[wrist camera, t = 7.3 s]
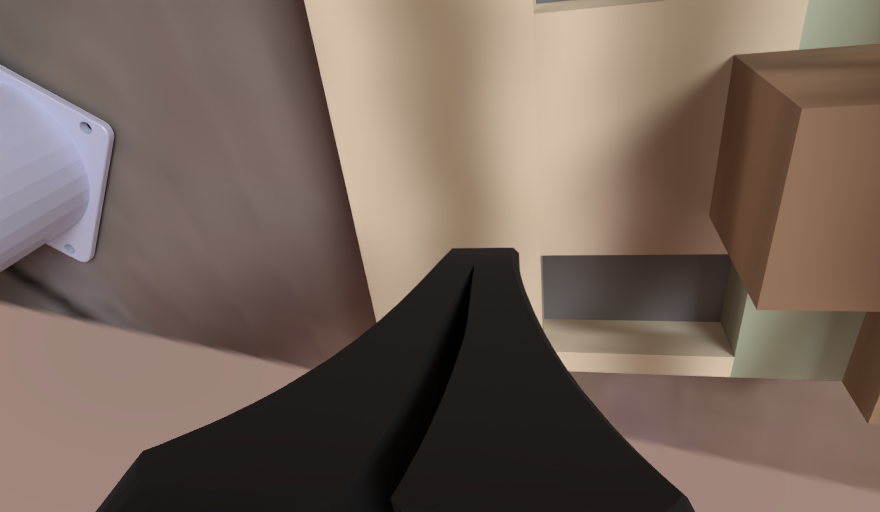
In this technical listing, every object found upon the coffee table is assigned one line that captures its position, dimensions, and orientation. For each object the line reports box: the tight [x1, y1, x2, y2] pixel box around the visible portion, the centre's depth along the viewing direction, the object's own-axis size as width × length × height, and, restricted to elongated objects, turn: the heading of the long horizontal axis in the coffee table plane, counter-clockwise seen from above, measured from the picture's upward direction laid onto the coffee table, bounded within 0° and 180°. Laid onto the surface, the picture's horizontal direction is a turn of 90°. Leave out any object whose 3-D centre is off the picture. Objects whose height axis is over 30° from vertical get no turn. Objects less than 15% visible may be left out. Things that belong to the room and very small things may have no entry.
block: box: [709, 44, 880, 312], centre depth 14 cm, size 5×5×5 cm
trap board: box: [304, 0, 880, 424], centre depth 17 cm, size 18×19×4 cm
